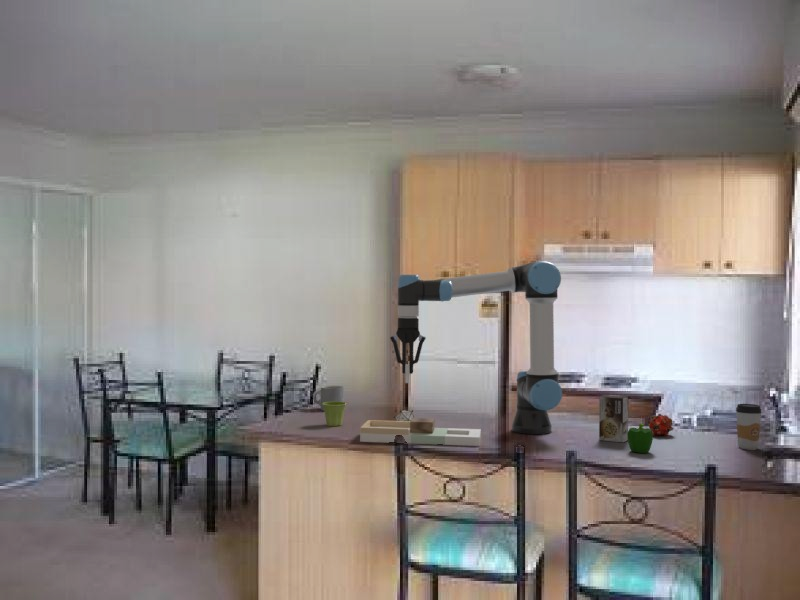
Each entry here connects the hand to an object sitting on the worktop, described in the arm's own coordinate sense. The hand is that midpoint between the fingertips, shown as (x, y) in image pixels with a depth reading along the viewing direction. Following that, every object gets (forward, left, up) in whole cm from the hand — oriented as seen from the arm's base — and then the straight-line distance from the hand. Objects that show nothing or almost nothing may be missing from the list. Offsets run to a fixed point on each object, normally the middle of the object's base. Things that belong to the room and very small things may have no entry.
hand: (407, 382), depth 289 cm
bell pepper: (-80, +8, -21) cm, 83 cm away
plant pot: (+32, -23, -21) cm, 44 cm away
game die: (+3, -17, -21) cm, 27 cm away
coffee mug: (+43, -62, -21) cm, 78 cm away
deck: (-5, 0, -20) cm, 21 cm away
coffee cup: (-119, -6, -21) cm, 121 cm away
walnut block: (-6, 0, -17) cm, 18 cm away
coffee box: (-74, -12, -21) cm, 78 cm away
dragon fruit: (-93, -25, -21) cm, 99 cm away
